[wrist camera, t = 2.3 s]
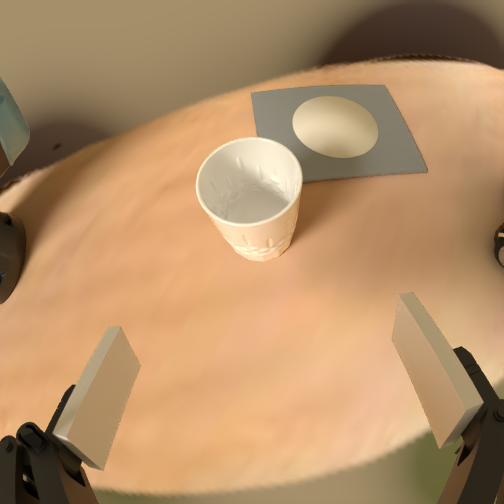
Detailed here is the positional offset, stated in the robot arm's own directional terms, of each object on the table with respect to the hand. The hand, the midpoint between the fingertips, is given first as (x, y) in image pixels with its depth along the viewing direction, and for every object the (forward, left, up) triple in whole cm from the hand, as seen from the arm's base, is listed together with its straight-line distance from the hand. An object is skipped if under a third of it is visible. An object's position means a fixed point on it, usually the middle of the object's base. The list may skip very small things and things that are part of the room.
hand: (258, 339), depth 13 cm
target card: (+11, +25, -15) cm, 31 cm away
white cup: (0, +12, -15) cm, 19 cm away
